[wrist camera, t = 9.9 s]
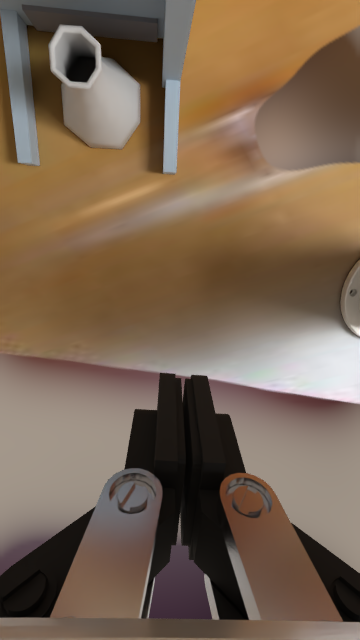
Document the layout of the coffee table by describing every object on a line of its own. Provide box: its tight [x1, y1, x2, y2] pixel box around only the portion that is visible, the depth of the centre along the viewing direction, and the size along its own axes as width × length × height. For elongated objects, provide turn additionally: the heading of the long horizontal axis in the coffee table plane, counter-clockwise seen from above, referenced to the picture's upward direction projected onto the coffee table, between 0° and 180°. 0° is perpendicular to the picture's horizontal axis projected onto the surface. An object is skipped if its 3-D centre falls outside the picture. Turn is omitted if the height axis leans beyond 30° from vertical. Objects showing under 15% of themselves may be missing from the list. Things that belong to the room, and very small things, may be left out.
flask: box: [48, 24, 140, 149], centre depth 23 cm, size 7×7×10 cm
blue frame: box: [0, 0, 196, 174], centre depth 21 cm, size 14×12×15 cm
